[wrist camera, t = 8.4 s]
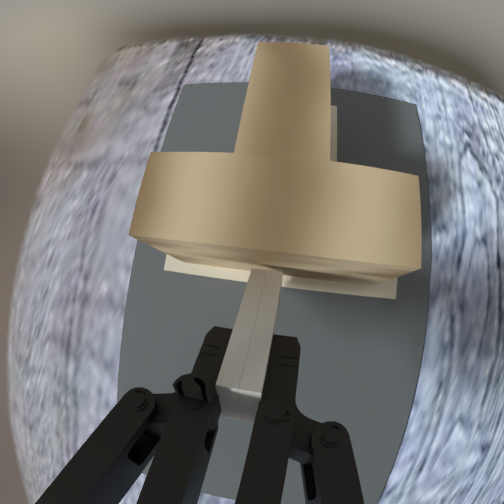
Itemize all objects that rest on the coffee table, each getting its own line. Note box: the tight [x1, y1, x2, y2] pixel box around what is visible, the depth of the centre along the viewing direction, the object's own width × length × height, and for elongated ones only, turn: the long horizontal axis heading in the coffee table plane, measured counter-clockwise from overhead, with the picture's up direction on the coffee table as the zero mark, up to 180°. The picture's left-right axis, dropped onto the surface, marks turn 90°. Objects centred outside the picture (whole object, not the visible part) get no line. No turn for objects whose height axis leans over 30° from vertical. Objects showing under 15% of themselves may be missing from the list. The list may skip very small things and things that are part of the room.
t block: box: [129, 42, 422, 285], centre depth 15 cm, size 12×12×7 cm
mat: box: [117, 82, 431, 504], centre depth 17 cm, size 20×32×1 cm, turn 172°
